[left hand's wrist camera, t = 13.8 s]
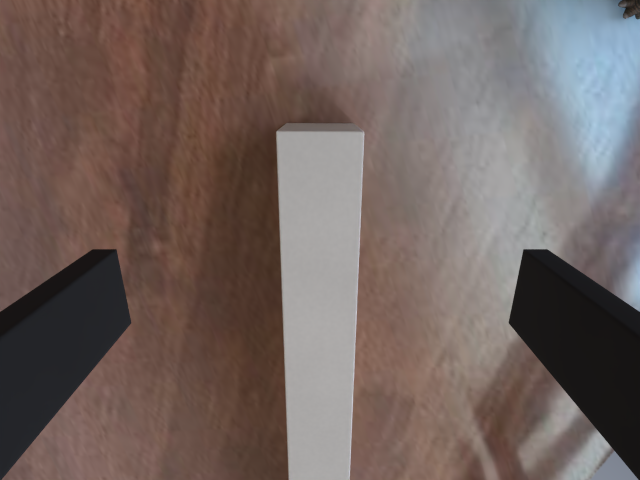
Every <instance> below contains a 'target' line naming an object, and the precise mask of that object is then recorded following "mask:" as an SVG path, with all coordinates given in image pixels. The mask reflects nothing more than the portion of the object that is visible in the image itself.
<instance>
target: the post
mask: <svg viewBox="0 0 640 480" xmlns="http://www.w3.org/2000/svg"><path fill="white" fill-rule="evenodd" d="M276 143H277V170H278V198H279V226H280V253H281V281H282V308H283V336H284V364H285V391H286V419H287V447H288V474H289V480H350V457H351V434H352V410H353V386H354V363H355V339H356V315H357V292H358V268H359V244H360V221H361V197H362V174H363V150H364V131H363V130H361V129H360V128H359V127H358V126H356V125H355V124H354V123H286V124H285V125H283V126H282V127H281V128H280V129H279V130H277V131H276Z"/></svg>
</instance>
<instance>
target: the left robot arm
mask: <svg viewBox="0 0 640 480" xmlns="http://www.w3.org/2000/svg"><path fill="white" fill-rule="evenodd" d="M130 324H131V319H130V314H129V309H128V304H127V299H126V294H125V289H124V285H123V280H122V275H121V270H120V265H119V260H118V255H117V250H116V249H93V250H91V251H90V252H88V253H87V254H85V255H84V256H82V257H81V258H79V259H78V260H76V261H75V262H73V263H72V264H70V265H69V266H68V267H66V268H65V269H63V270H62V271H60V272H59V273H57V274H56V275H54V276H53V277H51V278H50V279H48V280H47V281H45V282H44V283H42V284H41V285H39V286H38V287H37V288H35V289H34V290H32V291H31V292H29V293H28V294H26V295H25V296H23V297H22V298H20V299H19V300H17V301H16V302H14V303H13V304H11V305H10V306H8V307H7V308H6V309H4V310H3V311H1V312H0V480H1V479H2V478H3V477H4V476H5V475H6V473H7V472H8V471H9V470H10V469H11V467H12V466H13V465H14V464H15V463H16V461H17V460H18V459H19V458H20V457H21V455H22V454H23V453H24V452H25V451H26V449H27V448H28V447H29V446H30V444H31V443H32V442H33V441H34V440H35V438H36V437H37V436H38V435H39V434H40V432H41V431H42V430H43V429H44V428H45V426H46V425H47V424H48V423H49V422H50V420H51V419H52V418H53V417H54V416H55V414H56V413H57V412H58V411H59V410H60V408H61V407H62V406H63V405H64V403H65V402H66V401H67V400H68V399H69V397H70V396H71V395H72V394H73V393H74V391H75V390H76V389H77V388H78V387H79V385H80V384H81V383H82V382H83V381H84V379H85V378H86V377H87V376H88V375H89V373H90V372H91V371H92V370H93V369H94V367H95V366H96V365H97V364H98V362H99V361H100V360H101V359H102V358H103V356H104V355H105V354H106V353H107V352H108V350H109V349H110V348H111V347H112V346H113V344H114V343H115V342H116V341H117V340H118V338H119V337H120V336H121V335H122V334H123V332H124V331H125V330H126V329H127V328H128V326H129V325H130ZM509 324H510V325H511V326H512V328H513V329H514V330H515V331H516V332H517V334H518V335H519V336H520V337H521V338H522V340H523V341H524V342H525V343H526V344H527V346H528V347H529V348H530V349H531V350H532V352H533V353H534V354H535V355H536V356H537V358H538V359H539V360H540V361H541V362H542V364H543V365H544V366H545V367H546V369H547V370H548V371H549V372H550V373H551V375H552V376H553V377H554V378H555V379H556V381H557V382H558V383H559V384H560V385H561V387H562V388H563V389H564V390H565V391H566V393H567V394H568V395H569V396H570V397H571V399H572V400H573V401H574V402H575V403H576V405H577V406H578V407H579V408H580V410H581V411H582V412H583V413H584V414H585V416H586V417H587V418H588V419H589V420H590V422H591V423H592V424H593V425H594V426H595V428H596V429H597V430H598V431H599V432H600V434H601V435H602V436H603V437H604V438H605V440H606V441H607V442H608V443H609V444H610V446H611V447H612V448H613V449H614V451H615V452H616V453H617V454H618V455H619V457H620V458H621V459H622V460H623V461H624V463H625V464H626V465H627V466H628V467H629V469H630V470H631V471H632V472H633V473H634V475H635V476H636V477H637V478H638V479H639V480H640V312H639V311H637V310H636V309H634V308H633V307H632V306H630V305H629V304H627V303H626V302H624V301H623V300H621V299H620V298H618V297H617V296H615V295H614V294H612V293H611V292H609V291H608V290H606V289H605V288H603V287H602V286H601V285H599V284H598V283H596V282H595V281H593V280H592V279H590V278H589V277H587V276H586V275H584V274H583V273H581V272H580V271H578V270H577V269H575V268H574V267H572V266H571V265H570V264H568V263H567V262H565V261H564V260H562V259H561V258H559V257H558V256H556V255H555V254H553V253H552V252H550V251H549V250H547V249H524V250H523V255H522V260H521V265H520V270H519V275H518V280H517V285H516V289H515V294H514V299H513V304H512V309H511V314H510V319H509Z"/></svg>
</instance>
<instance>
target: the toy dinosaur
mask: <svg viewBox="0 0 640 480" xmlns="http://www.w3.org/2000/svg"><path fill="white" fill-rule="evenodd" d="M618 6H620V7H623V8H626V9H625V12H624V14H623V18H625V19H626V18H628V17H631V16H633V15H635V17H636V19H640V0H622V1H620V2H619V3H618Z"/></svg>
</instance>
